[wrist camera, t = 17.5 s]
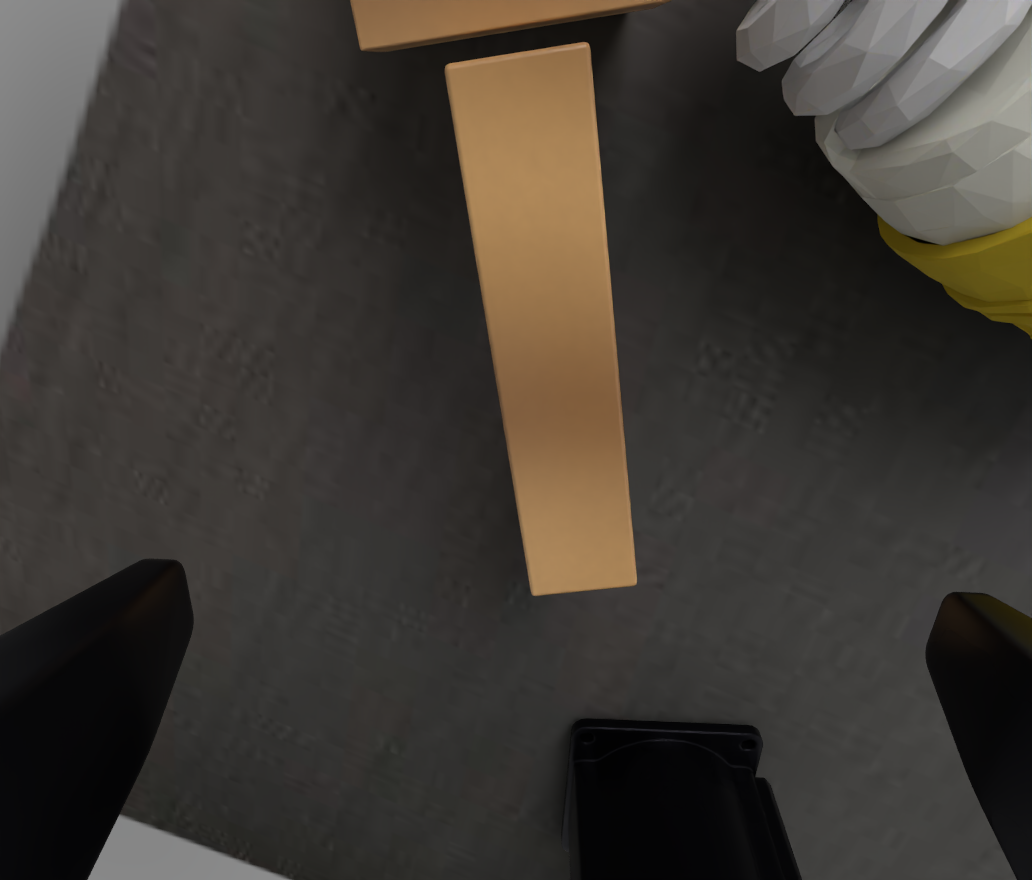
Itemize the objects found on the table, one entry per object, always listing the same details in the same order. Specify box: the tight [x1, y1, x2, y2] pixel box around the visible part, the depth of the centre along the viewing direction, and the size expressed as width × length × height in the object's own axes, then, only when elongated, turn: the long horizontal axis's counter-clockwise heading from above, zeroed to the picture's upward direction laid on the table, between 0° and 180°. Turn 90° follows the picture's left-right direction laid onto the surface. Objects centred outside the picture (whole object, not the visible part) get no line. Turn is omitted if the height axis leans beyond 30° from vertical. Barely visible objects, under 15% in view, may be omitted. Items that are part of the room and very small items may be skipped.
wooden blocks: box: [350, 0, 671, 596], centre depth 15 cm, size 15×5×7 cm, turn 8°
